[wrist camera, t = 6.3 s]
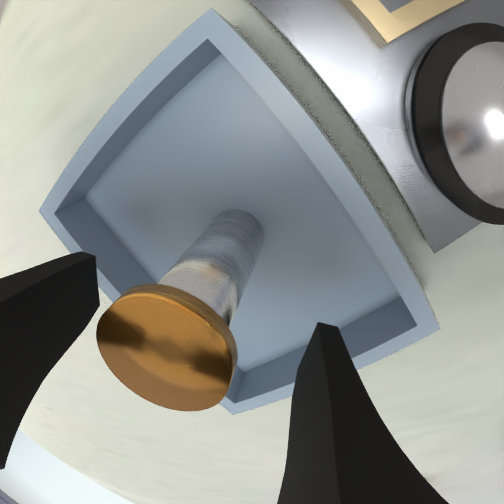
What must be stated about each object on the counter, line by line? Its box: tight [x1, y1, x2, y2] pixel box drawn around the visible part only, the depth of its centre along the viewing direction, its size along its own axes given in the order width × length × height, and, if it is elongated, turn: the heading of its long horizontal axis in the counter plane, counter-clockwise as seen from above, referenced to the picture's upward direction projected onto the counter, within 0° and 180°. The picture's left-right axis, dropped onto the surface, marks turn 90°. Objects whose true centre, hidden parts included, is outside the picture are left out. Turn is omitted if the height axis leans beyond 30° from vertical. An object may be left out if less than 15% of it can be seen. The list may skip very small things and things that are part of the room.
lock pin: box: [96, 209, 264, 411], centre depth 10 cm, size 3×3×8 cm
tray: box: [39, 8, 440, 415], centre depth 13 cm, size 15×12×3 cm
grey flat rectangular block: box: [248, 0, 504, 253], centre depth 8 cm, size 14×10×3 cm
